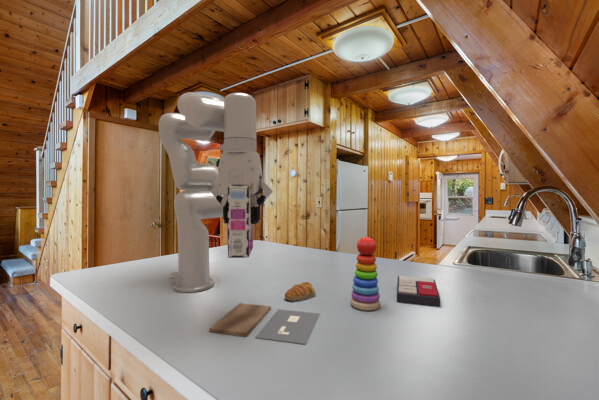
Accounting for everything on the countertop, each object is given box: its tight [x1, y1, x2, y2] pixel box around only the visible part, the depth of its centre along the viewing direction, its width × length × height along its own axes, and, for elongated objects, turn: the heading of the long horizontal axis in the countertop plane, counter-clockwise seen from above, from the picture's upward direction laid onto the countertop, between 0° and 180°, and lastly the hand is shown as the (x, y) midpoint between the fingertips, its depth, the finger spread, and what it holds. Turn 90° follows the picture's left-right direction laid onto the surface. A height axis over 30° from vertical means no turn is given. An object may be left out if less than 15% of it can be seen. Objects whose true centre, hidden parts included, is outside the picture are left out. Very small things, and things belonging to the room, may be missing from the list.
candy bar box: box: [227, 185, 254, 259], centre depth 70 cm, size 11×5×16 cm, turn 4°
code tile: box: [254, 308, 320, 345], centre depth 68 cm, size 11×15×1 cm
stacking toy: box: [349, 236, 381, 312], centre depth 79 cm, size 8×8×19 cm
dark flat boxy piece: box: [396, 275, 441, 308], centre depth 86 cm, size 11×4×15 cm
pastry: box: [284, 281, 316, 302], centre depth 86 cm, size 9×7×4 cm
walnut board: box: [208, 302, 272, 338], centre depth 71 cm, size 9×15×1 cm, turn 165°
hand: (241, 222), depth 70 cm, fingers closed on candy bar box, 6 cm apart
